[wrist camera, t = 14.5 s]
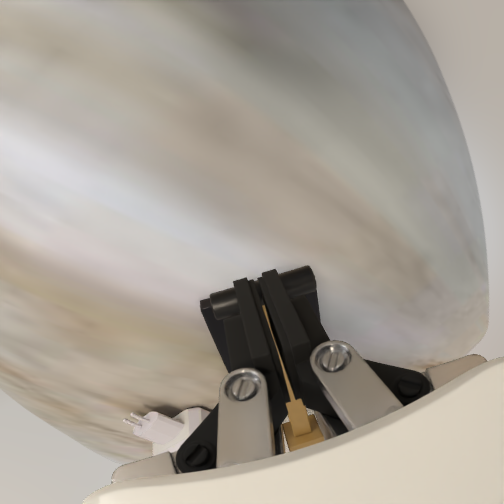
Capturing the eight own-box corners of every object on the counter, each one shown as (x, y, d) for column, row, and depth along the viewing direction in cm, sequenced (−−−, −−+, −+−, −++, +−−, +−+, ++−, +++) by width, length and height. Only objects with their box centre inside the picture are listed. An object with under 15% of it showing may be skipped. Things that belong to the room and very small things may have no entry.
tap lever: (210, 288, 15) (208, 302, 13) (302, 261, 15) (316, 270, 13) (270, 453, 17) (275, 477, 15) (337, 432, 18) (348, 453, 15)
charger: (151, 380, 26) (256, 424, 32) (111, 414, 28) (209, 451, 34) (148, 418, 22) (263, 456, 28) (107, 447, 24) (212, 479, 30)
